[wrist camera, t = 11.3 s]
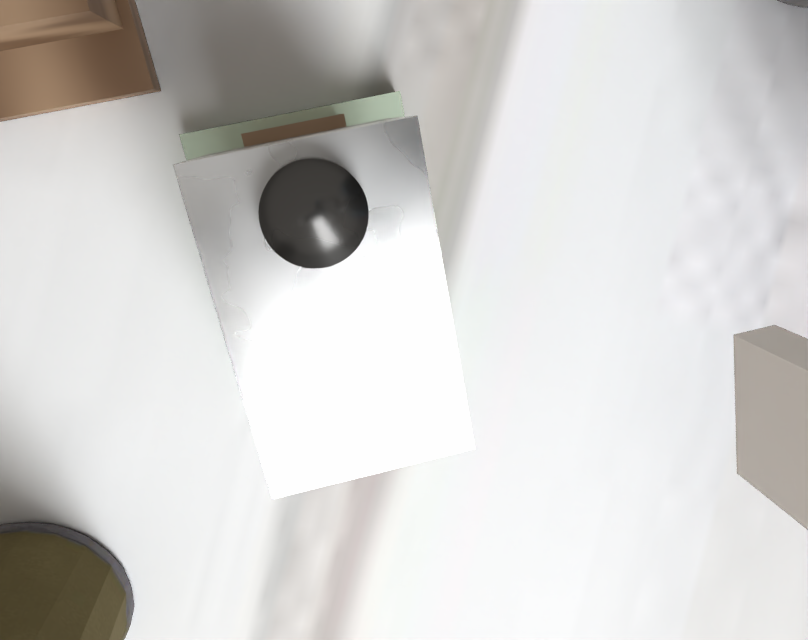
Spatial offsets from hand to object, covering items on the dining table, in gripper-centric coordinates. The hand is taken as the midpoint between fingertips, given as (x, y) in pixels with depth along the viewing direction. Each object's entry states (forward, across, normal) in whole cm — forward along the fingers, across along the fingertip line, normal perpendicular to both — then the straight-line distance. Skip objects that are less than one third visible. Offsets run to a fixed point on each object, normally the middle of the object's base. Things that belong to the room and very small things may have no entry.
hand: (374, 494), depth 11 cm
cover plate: (+13, 0, 0) cm, 13 cm away
